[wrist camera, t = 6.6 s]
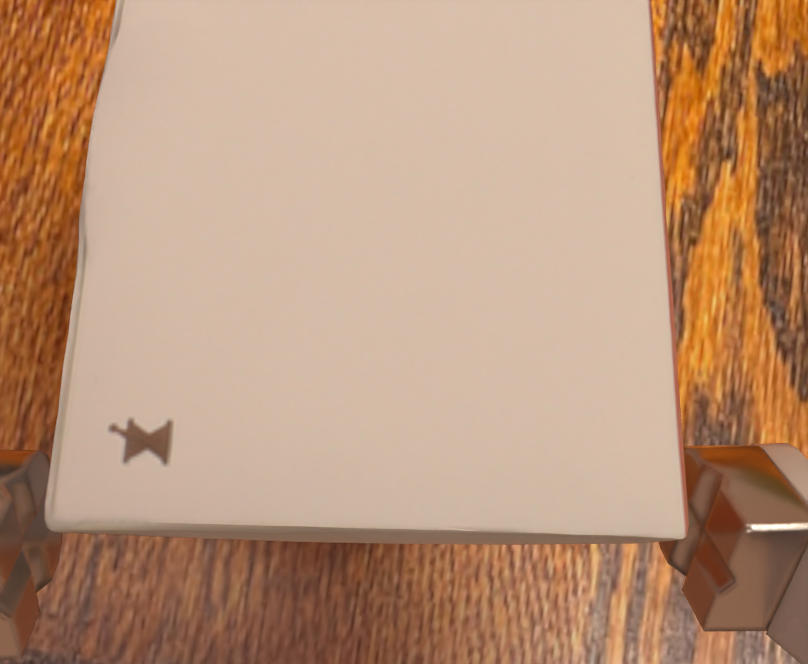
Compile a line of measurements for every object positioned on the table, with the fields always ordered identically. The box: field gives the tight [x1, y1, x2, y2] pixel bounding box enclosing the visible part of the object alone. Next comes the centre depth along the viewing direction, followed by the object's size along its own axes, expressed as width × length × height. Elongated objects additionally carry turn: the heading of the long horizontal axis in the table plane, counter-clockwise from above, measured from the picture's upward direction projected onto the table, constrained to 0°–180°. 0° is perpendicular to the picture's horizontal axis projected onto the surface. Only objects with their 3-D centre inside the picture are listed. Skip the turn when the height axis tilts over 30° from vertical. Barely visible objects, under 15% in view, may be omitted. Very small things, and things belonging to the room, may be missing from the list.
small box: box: [44, 0, 689, 545], centre depth 14 cm, size 8×6×13 cm
